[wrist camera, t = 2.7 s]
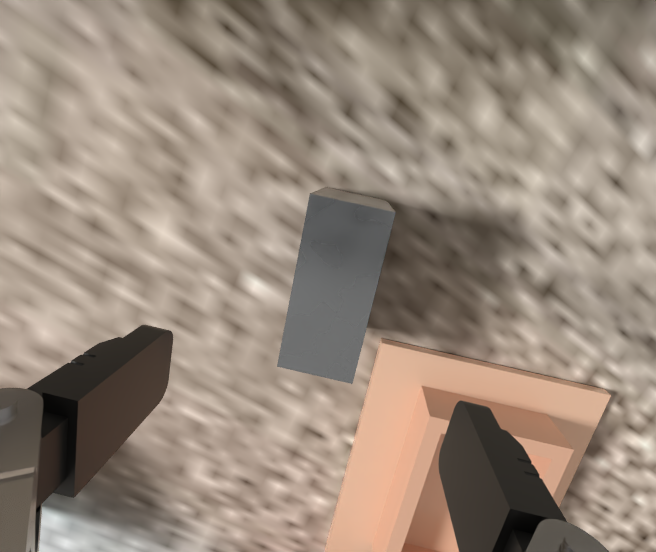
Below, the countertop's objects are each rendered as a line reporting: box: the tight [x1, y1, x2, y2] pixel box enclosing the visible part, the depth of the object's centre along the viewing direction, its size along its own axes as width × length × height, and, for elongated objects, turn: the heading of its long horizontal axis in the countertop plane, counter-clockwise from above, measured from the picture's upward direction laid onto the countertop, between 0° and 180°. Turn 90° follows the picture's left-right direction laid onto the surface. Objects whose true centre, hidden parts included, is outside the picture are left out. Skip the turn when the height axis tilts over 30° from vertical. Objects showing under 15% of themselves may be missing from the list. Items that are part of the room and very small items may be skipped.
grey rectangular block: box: [277, 187, 396, 384], centre depth 23 cm, size 9×4×8 cm, turn 168°
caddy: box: [325, 338, 611, 552], centre depth 28 cm, size 16×20×4 cm
